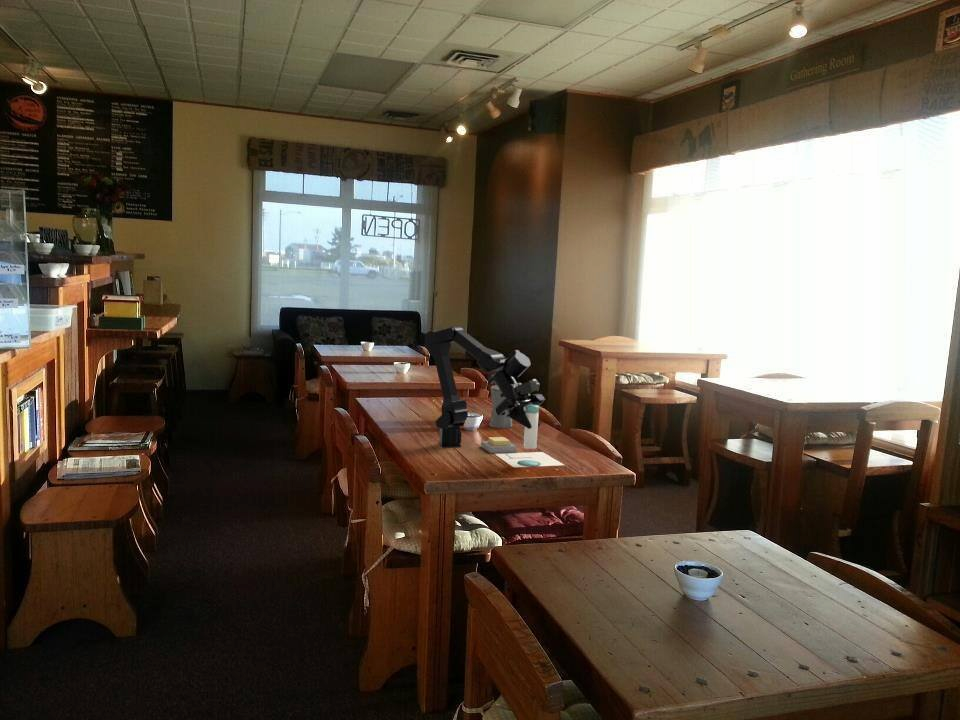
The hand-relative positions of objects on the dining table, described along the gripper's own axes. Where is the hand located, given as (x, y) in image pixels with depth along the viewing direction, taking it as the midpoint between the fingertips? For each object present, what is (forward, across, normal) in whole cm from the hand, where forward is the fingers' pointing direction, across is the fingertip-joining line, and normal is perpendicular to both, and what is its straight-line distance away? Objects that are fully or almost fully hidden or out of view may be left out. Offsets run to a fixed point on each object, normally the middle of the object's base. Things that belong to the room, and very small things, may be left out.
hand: (534, 427), depth 234 cm
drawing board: (+5, +4, +12) cm, 14 cm away
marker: (+4, 0, +6) cm, 7 cm away
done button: (-6, +7, +21) cm, 23 cm away
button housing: (-5, +7, +22) cm, 24 cm away
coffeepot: (-23, +41, +40) cm, 62 cm away
